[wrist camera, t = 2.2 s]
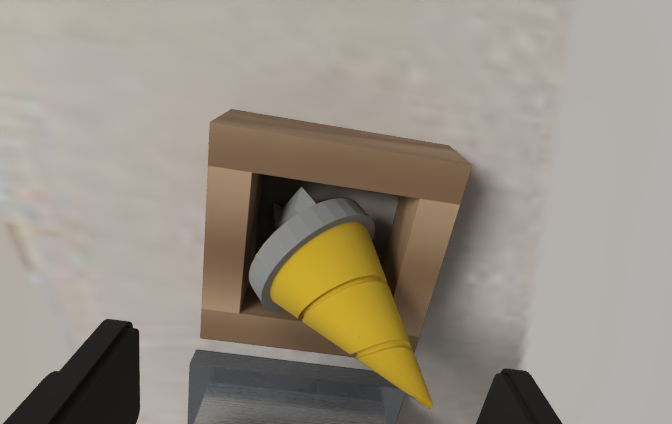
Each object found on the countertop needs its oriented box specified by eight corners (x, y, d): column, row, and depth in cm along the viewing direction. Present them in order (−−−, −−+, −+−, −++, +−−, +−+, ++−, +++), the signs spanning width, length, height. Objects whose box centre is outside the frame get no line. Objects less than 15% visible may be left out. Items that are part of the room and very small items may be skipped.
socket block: (231, 109, 16) (209, 122, 13) (448, 145, 16) (472, 165, 14) (219, 296, 19) (200, 338, 16) (399, 319, 20) (410, 364, 17)
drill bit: (335, 141, 17) (522, 328, 12) (312, 224, 20) (448, 392, 16) (216, 170, 14) (402, 433, 9) (214, 261, 18) (346, 482, 13)
